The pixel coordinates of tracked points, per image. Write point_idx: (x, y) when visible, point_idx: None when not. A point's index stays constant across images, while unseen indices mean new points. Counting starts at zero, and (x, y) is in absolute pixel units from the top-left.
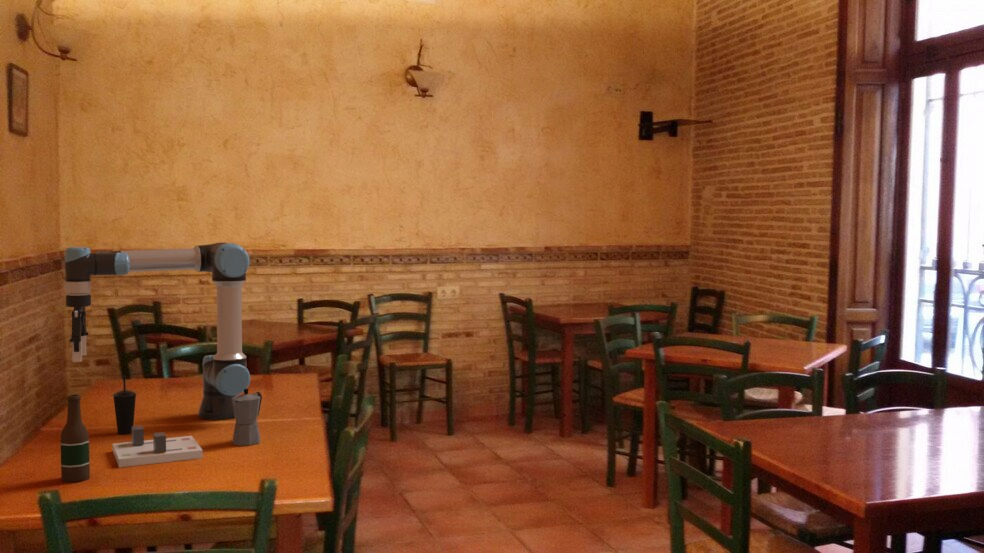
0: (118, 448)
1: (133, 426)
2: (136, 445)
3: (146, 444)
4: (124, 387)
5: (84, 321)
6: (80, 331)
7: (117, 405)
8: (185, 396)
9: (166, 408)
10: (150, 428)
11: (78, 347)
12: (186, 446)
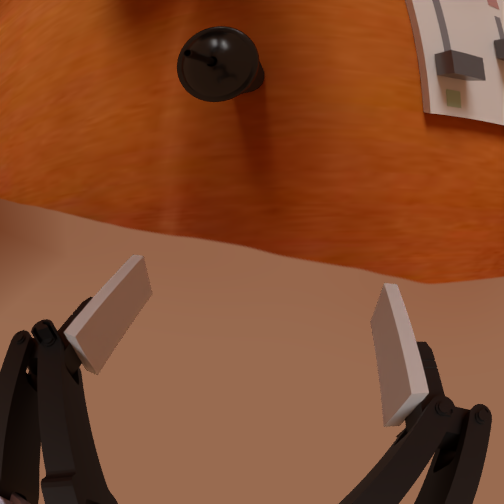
0: (470, 111)
1: (456, 69)
2: None
3: None
4: (211, 59)
5: (78, 486)
6: (416, 479)
7: (250, 85)
8: (6, 58)
9: (56, 51)
10: None
11: (435, 367)
12: (481, 2)
